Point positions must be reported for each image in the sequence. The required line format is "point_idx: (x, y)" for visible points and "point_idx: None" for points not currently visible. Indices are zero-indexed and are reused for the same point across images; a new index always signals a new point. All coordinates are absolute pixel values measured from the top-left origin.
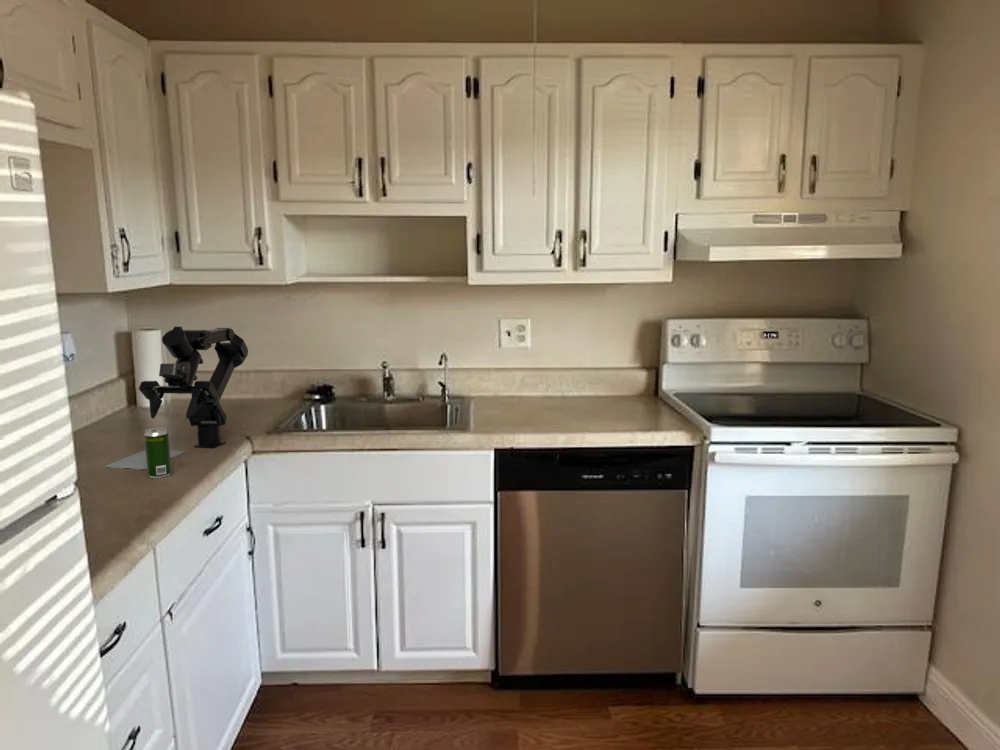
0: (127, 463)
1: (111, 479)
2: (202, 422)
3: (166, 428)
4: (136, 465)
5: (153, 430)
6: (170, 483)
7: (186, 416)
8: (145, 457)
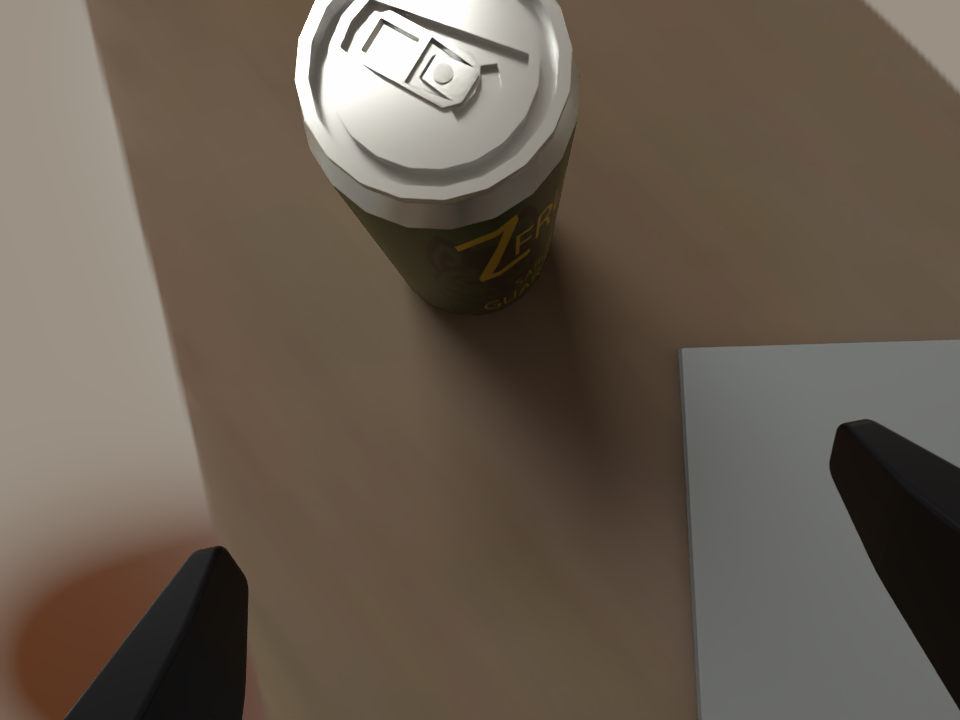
0: (921, 422)
1: (753, 106)
2: None
3: (327, 153)
4: (804, 388)
5: (449, 42)
6: (292, 122)
7: (210, 547)
8: None
